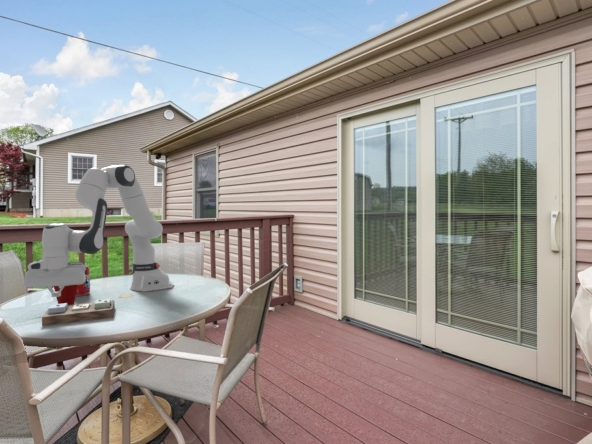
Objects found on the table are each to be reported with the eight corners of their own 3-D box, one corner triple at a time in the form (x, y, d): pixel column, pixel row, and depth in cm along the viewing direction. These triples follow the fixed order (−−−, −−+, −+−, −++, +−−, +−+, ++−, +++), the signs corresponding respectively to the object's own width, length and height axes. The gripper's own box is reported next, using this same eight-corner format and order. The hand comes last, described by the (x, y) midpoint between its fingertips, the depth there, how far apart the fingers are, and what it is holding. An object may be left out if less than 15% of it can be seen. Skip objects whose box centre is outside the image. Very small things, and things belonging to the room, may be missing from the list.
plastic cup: (59, 311, 145) (58, 284, 144) (47, 307, 151) (47, 281, 150) (85, 305, 154) (84, 280, 154) (74, 301, 160) (73, 277, 159)
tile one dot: (67, 310, 140) (67, 302, 140) (64, 314, 135) (64, 306, 135) (51, 311, 138) (51, 304, 137) (48, 315, 133) (48, 308, 132)
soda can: (68, 295, 170) (68, 266, 169) (84, 291, 177) (83, 264, 176) (77, 297, 167) (76, 268, 166) (93, 293, 174) (92, 265, 173)
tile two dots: (110, 305, 147) (110, 298, 147) (109, 308, 142) (109, 301, 142) (96, 306, 144) (96, 299, 144) (94, 310, 140) (94, 303, 139)
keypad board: (114, 307, 151) (114, 300, 151) (112, 317, 139) (112, 309, 139) (50, 314, 141) (50, 306, 141) (42, 326, 128) (41, 317, 128)
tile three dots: (89, 310, 143) (89, 303, 143) (87, 314, 139) (87, 306, 138) (74, 312, 141) (74, 304, 141) (72, 316, 136) (72, 308, 136)
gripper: (86, 260, 142) (87, 292, 143) (27, 263, 134) (28, 296, 134) (84, 262, 137) (84, 295, 137) (22, 265, 128) (23, 301, 128)
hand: (56, 296), depth 136 cm, fingers closed
